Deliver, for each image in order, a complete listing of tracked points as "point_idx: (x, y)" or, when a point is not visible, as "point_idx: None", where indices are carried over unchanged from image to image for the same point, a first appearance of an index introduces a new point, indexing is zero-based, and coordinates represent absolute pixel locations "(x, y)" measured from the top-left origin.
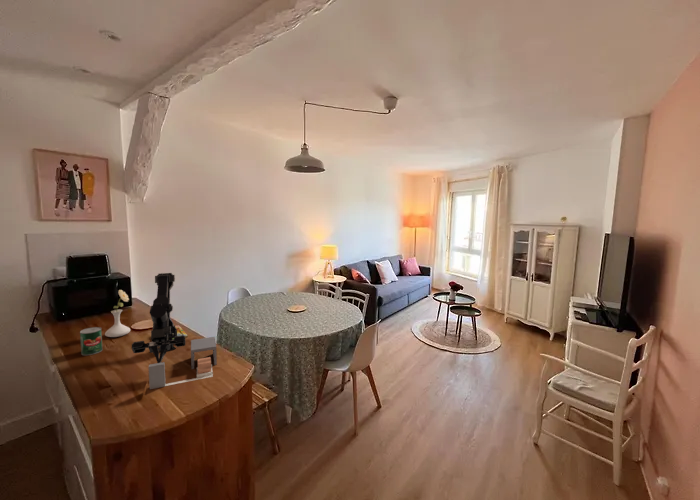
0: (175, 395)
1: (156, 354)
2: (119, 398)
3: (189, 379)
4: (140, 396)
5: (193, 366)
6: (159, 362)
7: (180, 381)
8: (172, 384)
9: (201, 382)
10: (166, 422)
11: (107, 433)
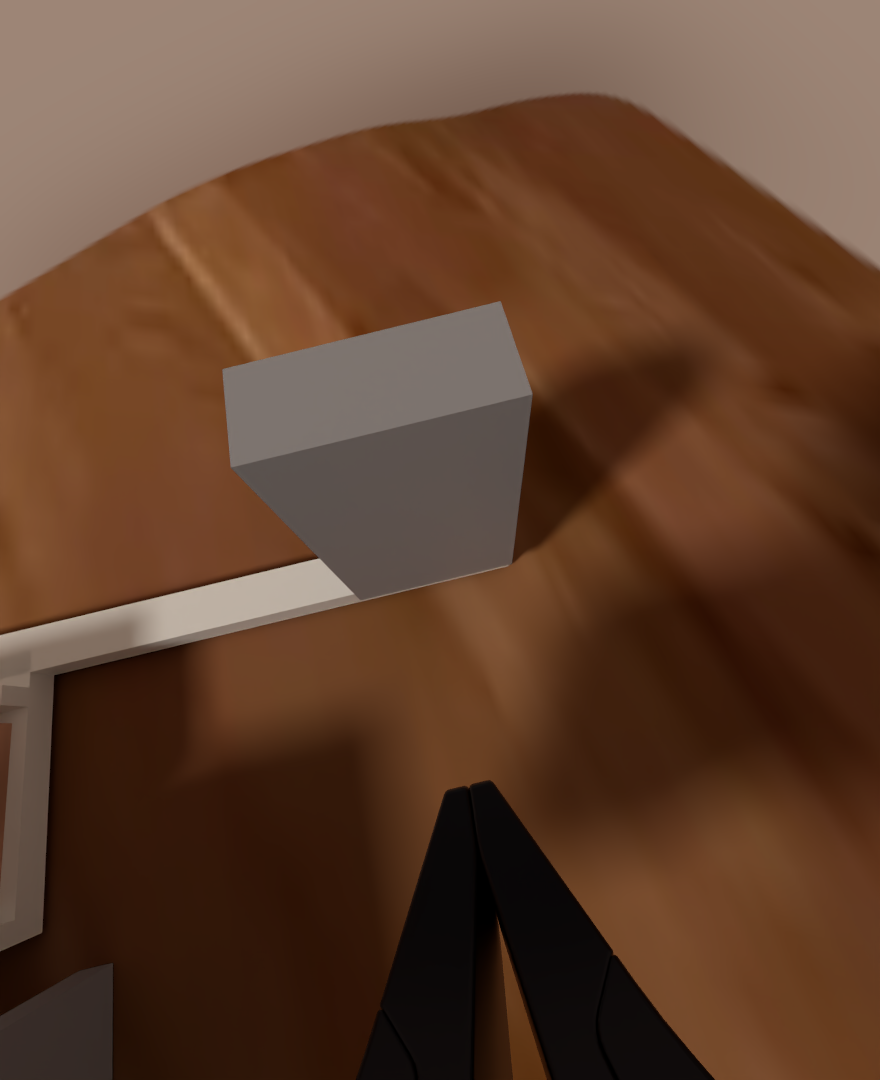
0: None
1: (587, 1006)
2: (754, 464)
3: (109, 650)
4: (557, 467)
5: (20, 1007)
6: (457, 802)
7: (203, 622)
8: (279, 568)
9: (17, 626)
10: (250, 167)
11: (564, 115)
